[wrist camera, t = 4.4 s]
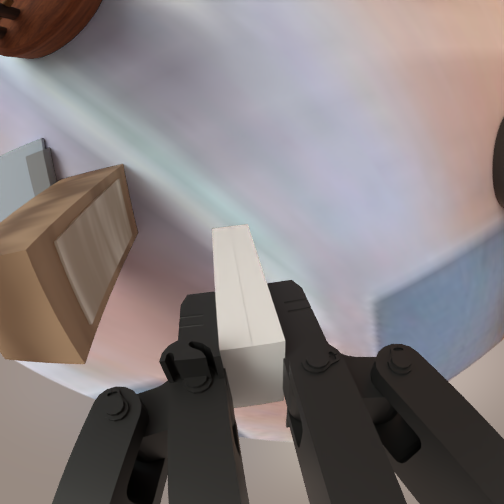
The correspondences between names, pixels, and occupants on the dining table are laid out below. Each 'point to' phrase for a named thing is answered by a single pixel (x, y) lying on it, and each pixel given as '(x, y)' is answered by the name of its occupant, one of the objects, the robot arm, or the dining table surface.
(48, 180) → the mat
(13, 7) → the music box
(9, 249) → the brown rectangular block
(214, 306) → the robot arm
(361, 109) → the dining table surface
